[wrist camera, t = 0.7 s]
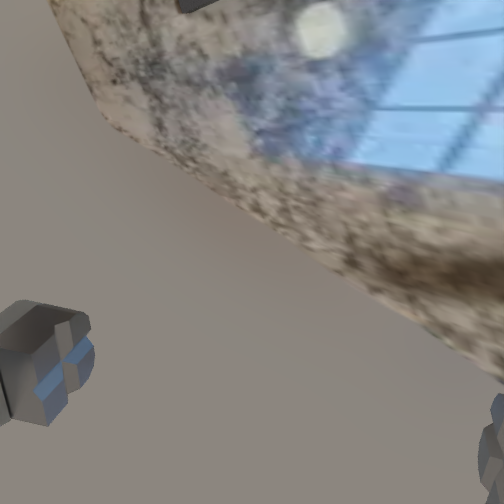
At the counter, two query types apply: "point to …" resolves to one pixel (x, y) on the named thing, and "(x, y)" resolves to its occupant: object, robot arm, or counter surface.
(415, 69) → the counter surface
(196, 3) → the stand
